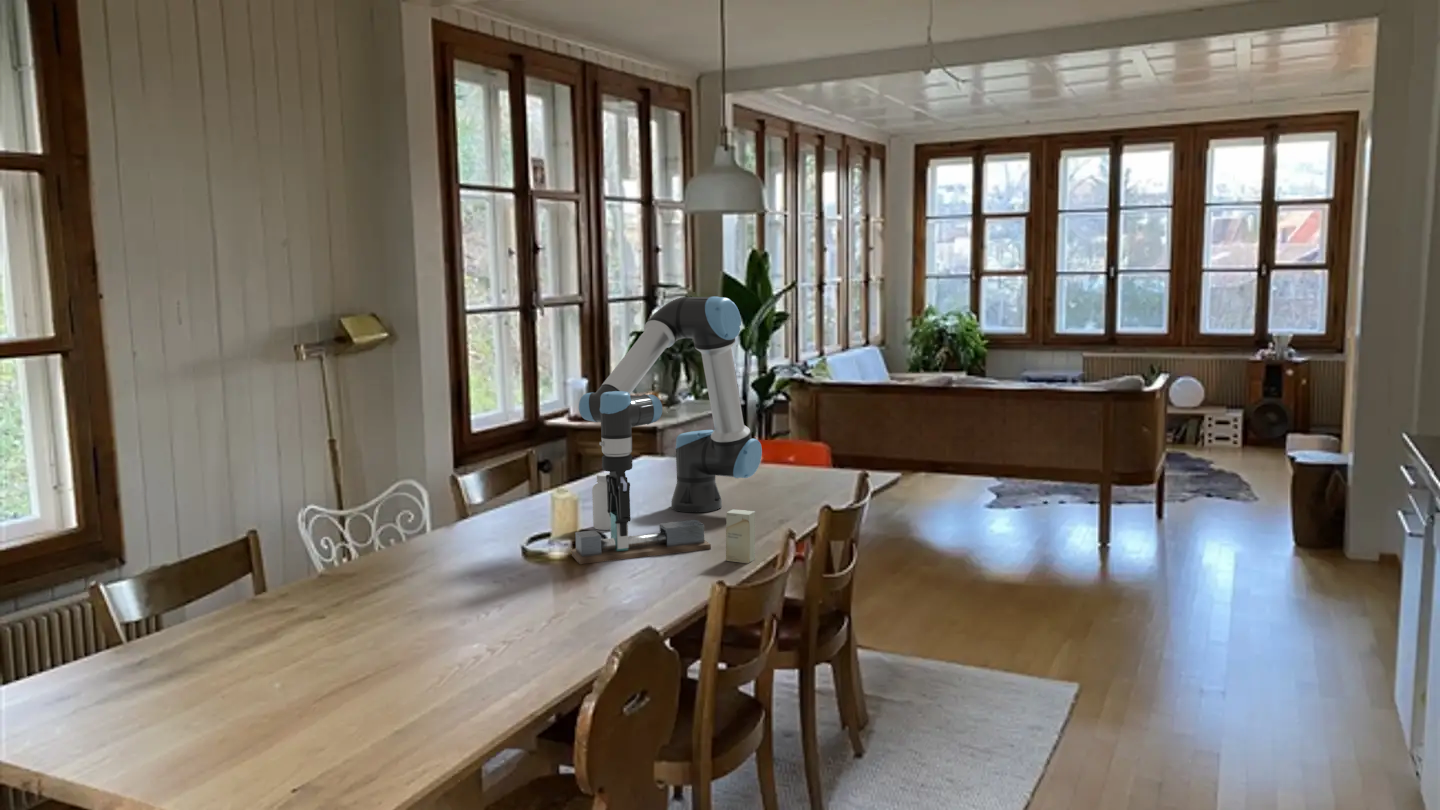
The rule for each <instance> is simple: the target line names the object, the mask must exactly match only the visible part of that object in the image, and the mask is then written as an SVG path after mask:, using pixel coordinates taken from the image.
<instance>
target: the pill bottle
mask: <svg viewBox="0 0 1440 810" xmlns="http://www.w3.org/2000/svg"><path fill="white" fill-rule="evenodd" d="M609 473H610V472H601V473H600V472H599V473H597V475H596V484H594V485H593V486H592V489H591V493H592V494H591V495H592V497H591V498H592V519H593V520H592V522H593V523H592V524H593V525H592V526H593V528H594V529H595V530H600V531H611V523H610V518H611V517H610V515H609V514H610V513H608V511H607V510H608V506H607V481H606V475H609Z"/></svg>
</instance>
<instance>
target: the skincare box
mask: <svg viewBox="0 0 1440 810" xmlns="http://www.w3.org/2000/svg"><path fill="white" fill-rule="evenodd" d="M725 516H726V518H725V519H726V520H725V521H726V522H725V523H726V524H725V527H726V529H725V542H726V543H725V561H726V562H735V563H740V564H750V563H752V562H753V561H755V560H756V556H755V555H756V547H755V546H756V510H746V509H736V508H735V509H734V508H732V509H730V510H728V511H726V514H725Z"/></svg>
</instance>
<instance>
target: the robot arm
mask: <svg viewBox="0 0 1440 810" xmlns="http://www.w3.org/2000/svg"><path fill="white" fill-rule="evenodd" d="M739 310H740V309H738V306H737V305H736V304H735V302H734V301H732V300H731V299H730V298H728V297H725V296H724V297H723V296H722V297H720V296H717V295H716V296H714V295H713V296H691V297H690V296H681V297H678V298H675V299H672V300H670V301H669V302H668V303H667V302H666V304H664V305H663V306H662V307H660V308H659V309H657V311H655V313H653V314H652V315H651V317H650V318H649V319H648V320H647V322H646V323H645V324H644V326H643V330H644V331H643V333H642V334H641V335H640V336H639V337H638V338H637V340H636V341H635V342H634V343H633V345H632V347H630V349H629V350H628V352H626V354H625V355H624V356H623V358H622V359H621V360H620V361H619V362H618V364H617V365H616V367H615V368H614V369H613V370H612V371H611V373H610V374H609V375H608V376H607V378H606V379H605V380H604V381H603V383H602V384H601V385H600V387H598V389H597V390H596V392H594V391H592V392H586V393H584V394H582V396H581V397H580V399H579V402H578V412H579V414H580V416H581V417H582V419H584V420H585V421H589V422H594V423H600V431H601V434H600V435H601V441H599V446H601V453H603V455H601V468H602V470H603V471H605V472H608V473H609V475H606V481H607V506H608V510H607V511H608V513H610V512H615V511H617V519H618V521H615V524H616V525H617V549H623V548H629V546H628V537H629V522H631V497H630V493H631V492H630V491H631V488H630V487H631V483H630V482H628V481H629V480H628V477H627V476H626V472H627V471H630V470H632V469H633V455H632V454H631V453H632V452H633V435H632V428H634V427H639V426H645V425H650V424H653V423H656V422H658V421H659V420H660V419H661V416H662V414H663V404H662V401H661V399H660V398H658V396H656V395H655V394H650V393H649V394H641V395H634V394H633V395H631V394H632V392H633V391H634V390H635V389H636V387H638V385H639V383H640V382H641V381H642V379H643V378H644V377H645V376H646V374H647V373H648V372H649V371H650V369H651V368H652V367H653V365H654V364H655V363H656V362H657V360H658V359H659V357H660V356H661V355H662V354H663V352H665V350H666V349H667V348H668V349H669V348H670V347H672V346H673V345H674V344H675V343H676V342H677V341H678V340H682V339H692V340H693V345H694V348H695V350H696V351H698V352H700V354H701V359H702V365H703V370H704V371H703V372H704V376H705V382H706V388H707V393H708V398H709V405H710V410H711V416H712V422H713V428H714V429H702V430H694V431H687V432H683V433H679V434H678V435H677V437H676V438H675V439H676V440H675V441H676V442H675V448H674V449H675V456H676V459H675V460H676V461H675V462H676V463H675V464H676V467H675V468H676V469H675V470H676V484H675V487H674V491H673V494H672V497H671V505H670V506H671V509H672V510H674V511H676V512H680V513H708V512H713V511H718V510H720V509H721V508H722V507H723V504H722V501H723V500H722V496H721V494H720V491H719V487H718V486H717V482H716V477H717V476H719V477H725V478H727V477H728V478H735V479H748V478H751V477H752V476H753V475H755V474H756V472H757V470H758V469H759V466H760V464H761V462H762V461H761V460H762V455H763V449H762V444H761V442H760V441H759V439H756V438H752V434H751V429H750V428H749V427H748V426H746V425H745V423H744V422H745V421H744V417H743V410H742V405H741V399H740V393H739V388H738V387H739V386H738V381H737V375H736V374H737V373H736V369H735V363H734V356H733V351H732V347H733V346H734V345H735V343H736V338H737V337H738V336H739V334H740V331H741V327H740V326H742V318H741V314H740V311H739ZM719 508H720V509H719ZM717 509H718V510H717ZM609 515H610V517H611V514H609ZM610 523H611V518H610Z"/></svg>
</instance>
